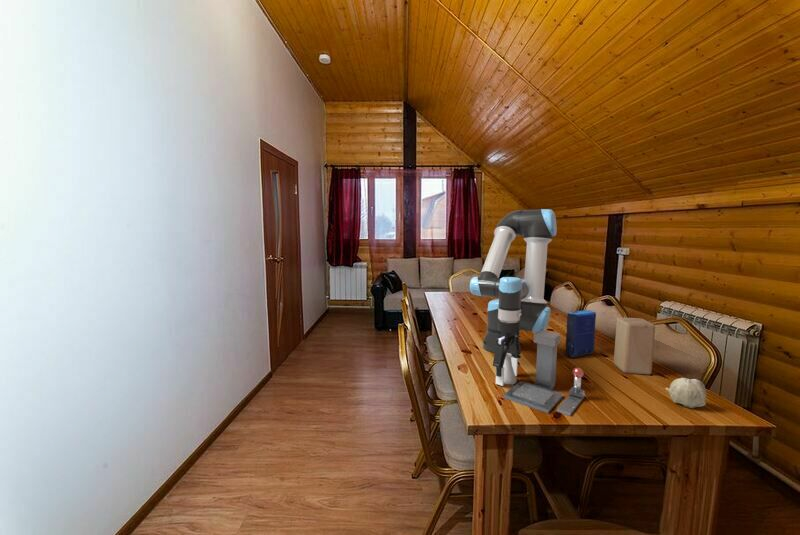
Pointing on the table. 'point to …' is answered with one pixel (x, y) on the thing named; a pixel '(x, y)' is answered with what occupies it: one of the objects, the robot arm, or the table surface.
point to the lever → (577, 383)
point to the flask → (509, 370)
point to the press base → (544, 380)
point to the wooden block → (634, 345)
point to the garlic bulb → (688, 392)
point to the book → (580, 333)
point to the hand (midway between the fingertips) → (506, 379)
